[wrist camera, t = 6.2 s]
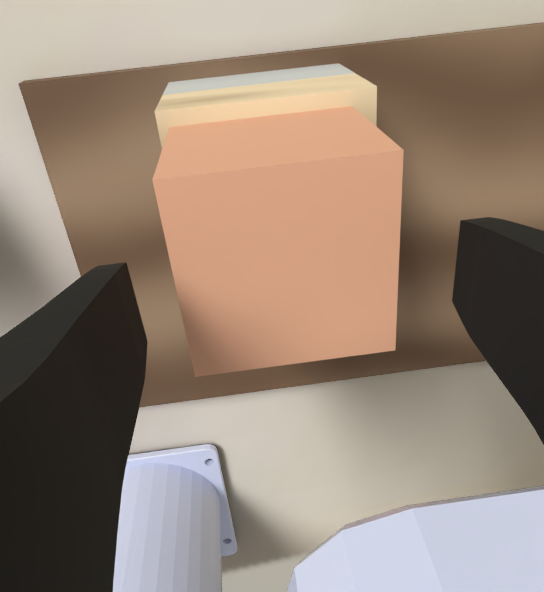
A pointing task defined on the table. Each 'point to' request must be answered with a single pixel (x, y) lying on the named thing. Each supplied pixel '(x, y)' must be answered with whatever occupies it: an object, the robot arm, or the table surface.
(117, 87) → the board
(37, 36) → the table surface
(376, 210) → the block
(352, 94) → the slab top
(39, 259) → the table surface
